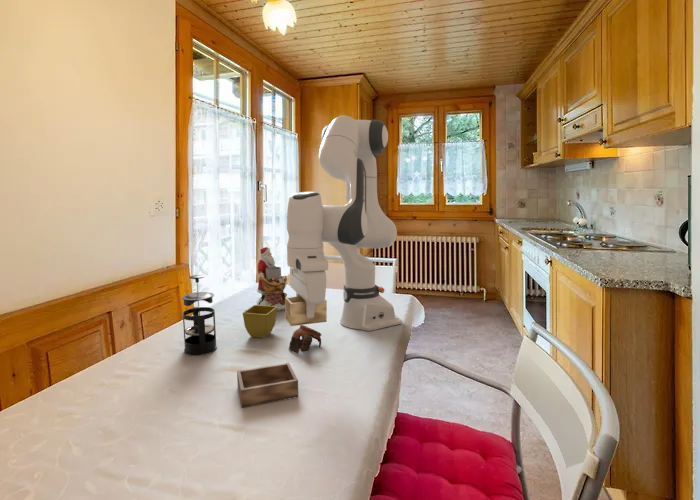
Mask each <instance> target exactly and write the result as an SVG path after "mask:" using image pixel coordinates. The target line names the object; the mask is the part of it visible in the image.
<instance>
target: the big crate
mask: <svg viewBox="0 0 700 500" xmlns="http://www.w3.org/2000/svg"><path fill="white" fill-rule="evenodd" d="M236 374H237V375H236V378H237V379H236V381H237V391H238V395H239V396H238V397H239V400H240V406H241V408H242V409H243V408H249V407H254V406H258V405H264V404H270V403H274V402H275V403H276V402H279V401H280V402H281V401H285V399H286V400H290V399H289V398H291V399H295V398H294V397H296V398H299V380H298V378H297V375H296V373H295V372H294V369H293V368H292V366H291V364H290V363H289V362H287V363H281V364H280V363H279V364H273V365H267V366H266V365H265V366H260V367H253V368H248V369H241V370H237V371H236Z"/></svg>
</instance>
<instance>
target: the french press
mask: <svg viewBox="0 0 700 500" xmlns="http://www.w3.org/2000/svg"><path fill="white" fill-rule="evenodd" d="M203 278H205V275H203V274H196V275H191V276H189V279H193V280H195V283H196V292H191V293H185V294H184V295H182V296H181V300H183V306H185V307H190V306H192V305H193V304H195V303H196V302H197V306H193V307H191V308H188V309H186V310H184V311H183V312H182V324H183V326H182V327H183V339H184V340H183V342H184V350H183V351H184V352H183V353H184V354H185V355H188V356H194V357H195V356H204V355H205V356H206V355H208V354H211V353H213V352H215V351H216V350H217V348H218V345H217V333H216V314H215V313H216V312H215V311H216V310H215V309H214V308H213V307H207V306H200V301H203V302H207V303H208V304H212V303H213V300H214V299H213V298H214V296H215V294H214V293H213V292H207V291H199V283H200V279H203ZM201 312H209V313H207V314H202V315H201ZM189 314H192V315H189ZM211 318H213V320H212V321H213V325H212V324H206V323H205V322H206V320H208V319H211ZM185 321H191V322H192V321H193V326H190V327H187V328H186V325H185ZM212 333H213V334H212ZM186 335H187V337H186Z"/></svg>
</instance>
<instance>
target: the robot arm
mask: <svg viewBox="0 0 700 500" xmlns="http://www.w3.org/2000/svg"><path fill="white" fill-rule="evenodd" d="M388 140H389V132H388V129H387V125H386V124H385V123H384V122H383V121H382V120H379V119H371V120H369V119H355V118H353V117H351V116H349V115H345V114H344V115H343V114H342V115H339V116H337V117H335V118H334V119H333V120H332V121H331V122H330V123H329V124H326V125H325V126H324V128H323V129H322V132H321V144H320V147H319V151H318V161H319V164H320V166H321V168H322V170H323V171H324V172H326V174H327V175H329V176H331V177H332V178H334V179H336V180H341V181H343V182H344V183H345V200H346V201H347V203H346V204H343V205H327V204H326V205H325V204H323V201H322V197H321V193H319V192H316V191H311V190H310V191H309V190H308V191H298V192H294V193H292V194H291V195H290V196H289V198H288V202H287V203H288V204H287V211H286V212H287V213H286V230H287V235H288V240H287V244H286V245H287V246H286V256H287V257H286V261H287V262H286V265H287V267H289V286H290V288H291V289H292V290H293V291H294V292H295V294H296V295H295V297H298V296H301V297H302V298H303V299H304V300H305V301H306V304H307V307H306V310H305V313H306V314H305V315H306V317H307V318H313V317H314V310H315V307H316V304H323V302H324V300H325V299H326V292H327V290H326V289H327V273H326V271H328V270H329V261H328V260H327V258H326V257H325V252H324V243H328V244H329V245H330V246H331V247H333V248H334V249H335V251H336V252H337V253H338V254H339V256H340V258H341V260H342V262H343V263H342V264H343V270H344V284H343V294H342V296H343V309H342V313H341V318H340V321H339V322H340V324H341V325H342V326H343V327H346V328H349V329H355V330H363V331H365V332H366V331H368V332H370V331H375V330H379V329H384V328H387V327H388V328H389V327H392V326H396V325H401V324H400V323H402V321H401V318H400V317H399V316H398V315H396V313H395V309H394V306H393V304H392V303H391V302H390V301H388V299H386V298H385V297H383V296H382V295H381V294H384V293H385V291H386V290H385V288H384V287H382V286H379V285H376V265H375V263H374V262H373V260H371V259H369V258H368V257H366V256H364V255H362V254H361V252H360V250H359V249H382V248H388V247H391V246H393V244H394V243H395V241H396V239H397V236H398V229H397V227H396V224H395V223H394V221H393V220H391V218H389V217H388V216H387V215H386V214H385V212H383V210H382V208H381V206H380V203H379V198H378V169H377V158H378V157H379V155H380V154H382V153H384V151H385V149H386V148H387V145H388V142H389V141H388Z"/></svg>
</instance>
